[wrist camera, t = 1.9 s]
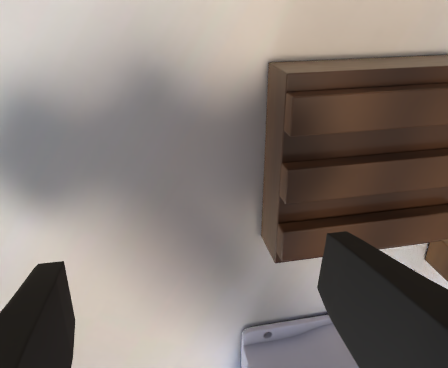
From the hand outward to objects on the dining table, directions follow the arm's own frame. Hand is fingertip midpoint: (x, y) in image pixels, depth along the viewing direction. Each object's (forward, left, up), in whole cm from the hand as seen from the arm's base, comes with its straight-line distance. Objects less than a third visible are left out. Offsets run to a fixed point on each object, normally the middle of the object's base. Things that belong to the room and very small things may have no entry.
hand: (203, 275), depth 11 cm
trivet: (+9, 0, -9) cm, 12 cm away
